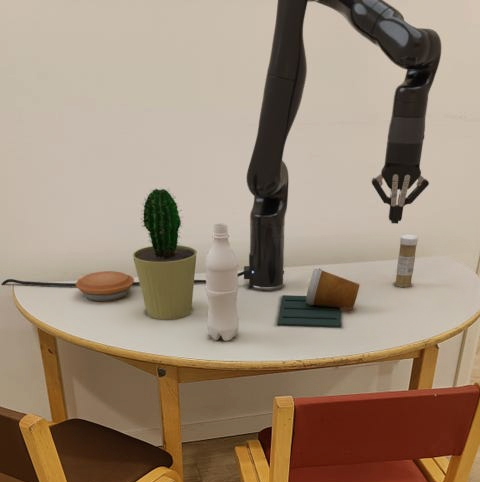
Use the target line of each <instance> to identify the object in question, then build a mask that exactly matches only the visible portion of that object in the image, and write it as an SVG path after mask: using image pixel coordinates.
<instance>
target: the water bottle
mask: <svg viewBox="0 0 480 482" xmlns="http://www.w3.org/2000/svg"><path fill="white" fill-rule="evenodd" d="M228 226H229V225H228V224H227V223H215V224H213V226H212V227H213V232H212V238H213V240H212V244H211V247H210V249H209V251H208V252H207V256H206V258H205V261H204V267H205V280H206V283H205V292H206V296H207V301H208V311H207V312H208V314H207V318H206V327H207V330H208V334H209V336H210V337H211V338H212V339H213V340H214V341H218V340H219V339H220V337H221V338H222V340H223V342H226V341H227V342H228V341H230V340H232V339H233V338H235V337H236V336H237V334H238V332H239V327H240V319H239V315H238V308H237V299H238V298H237V297H238V291H239V282H238V281H239V279H238V278H239V277H238V273H239V272H238V271H239V270H238V268H239V262H238V259H237V256H236V254H235V252H234V250H233V248H232V246H231V244H230V241H229V238H230V235H229V231H228V230H229V227H228Z"/></svg>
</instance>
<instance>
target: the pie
mask: <svg viewBox="0 0 480 482" xmlns="http://www.w3.org/2000/svg"><path fill="white" fill-rule="evenodd" d="M133 282H135V278H134V277H133V276H131V275H129V274H126V273H123V272H121V271H113V270H108V271H107V270H106V271H105V270H104V271H97V272H92V273H88V274H86V275H84V276H82V277H81V278H79V279H77V281H76V282H75V283H76V285H75V286H74V287H76V288H77V289H78V290H79V292H81V293H82V294H83V296H84V297H85V298H86V299H88V300H90V301H93V302H111V301H116V300H119V299H122V298H124V297H125V296H127V294H128V293H129V291H130V288H131V287H132V286H133V285H132V284H133Z"/></svg>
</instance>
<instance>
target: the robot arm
mask: <svg viewBox="0 0 480 482" xmlns="http://www.w3.org/2000/svg"><path fill="white" fill-rule="evenodd" d="M308 2H309V3H317V4H320V5H322V6H325V7H327V8H330V9H331V10H334V11H335V12H336V13H338V14H340V15H341V16H342V17H343V18H344V19H345V20H346V21H347V23H348V24H349V25H350V27H351V28H352V29H353V30H354V31H355V32H356V33H358V34H359V35H360V36H361V37H363V38H365V39H366V40H367V41H369V42H370V43H372V44H373V45H374V46H376V47H378V48H379V49H380V51H381V52H382V53H383V55H385V56H386V57H387V59H388V60H390V62H391V63H393V64H394V65H395V66H397V67H398V68H400V69H403V70H406V73H405V76H404V80H403V81H402V83H400V84H399V85H398V86H397V87H396V88H395V90H394V94H393V99H392V108H391V117H390V120H389V121H390V122H389V126H388V131H387V132H388V133H387V140H386V149H385V150H386V151H385V158H384V165H383V167H382V168H381V171H380V174H378V175H377V176H375V177H373V178H371V180H370V183H371V185H372V186H373V189H375V191H376V193H377V194H378V196H379V197H380V199H381V201H382V202H383V203H384V204H386V205H389V210H388V220H389V221H390V224H394V225H395V224H399V222H401V221H402V219H403V213H404V207H405V206H407V205H411V204H413V202H414V201H415V200H417V198H418V197H419V196H420V195H421V194H422V193H423V192H424V190H425V189H426V188H428V186H429V185H430V182H429V180H428V179H427V178H425V177H423V176H422V170H421V159H422V152H423V145H424V140H425V134H426V133H425V132H426V116H427V109H428V104H429V96H430V95H429V94H430V91H431V88H432V86H433V84H434V81H435V77H436V74H437V72H438V68H439V65H440V61H441V57H442V40H441V37H440V35H439V34H438V32H437V31H436V30H434V29H431V28H422V27H421V28H420V27H415V26H413V25H411V24H409V23H408V22H407V21H406V20H405V17H404V16H403V14H402V12H400V11H399V10H398V9H397V8H395V7H394V6H392V5H391V4H389V3H388V2H387V1H385V0H277V5H276V6H277V7H276V16H275V17H276V18H275V24H274V31H273V37H272V43H271V50H270V54H269V55H270V57H269V62H268V65H267V70H266V77H265V81H264V88H263V94H262V101H261V107H260V113H259V119H258V125H257V126H258V127H257V133H256V139H255V142H254V147H253V149H252V154H251V156H250V157H251V158H250V161H249V163H248V167H247V172H246V186H247V188H248V191H249V192H250V194H252V195H253V205H252V207H251V209H250V213H249V255H248V265H244V267H243V271H240V272H238V278H239V277H241V276H243V280H248V288H249V289H251V290H253V289H254V290H256V291H263V292H266V291H267V292H268V291H270V292H271V291H277V290H280V289H282V288H283V287H284V275H285V270H284V261H285V260H284V259H285V227H286V226H285V224H286V222H285V221H286V214H287V210H288V203H289V201H288V200H289V198H288V197H289V170H288V166H287V165H286V163H285V162H284V160H283V158H284V151H285V145H286V142H287V139H288V136H289V133H290V131H291V129H292V127H293V124H294V122H295V120H296V117H297V116H298V112H299V110H300V107H301V103H302V99H303V96H304V95H303V94H304V90H305V84H306V81H307V75H308V74H307V73H308V65H307V64H308V63H307V55H306V48H305V42H304V41H305V40H304V24H305V23H304V22H305V17H306V11H307V7H308ZM383 180H384V181H383ZM384 182H385V184H386V186H387V188H388V189H390V190H389V191H390V192H389V193H390V195H389V196H388V195H387V194H386V192H385V190H384V189H383V187H382V186H383V185H384V184H383V183H384ZM415 183H416V187H415V188H414V189H412V191H411V192H410V193H409V194H408V195H407V193H408V190H409V189H411V188H412V186H413V185H414V184H415ZM398 190H399V192H398ZM8 283H15V284H20V285H29V286H30V285H31V286H49V287H51V286H52V287H53V286H54V287H76V286H75V285H76V282H74V283H73V282H71V283H70V282H43V281H27V280H24V281H23V280H18V279H13V278H7V279H5V280H3V282H2V283H1V284H0V285H1V286H5V285H6V284H8ZM194 284H206V279H194ZM131 286H140V283H139V281H134V282H133V284H132V285H131Z"/></svg>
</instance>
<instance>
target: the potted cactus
mask: <svg viewBox="0 0 480 482" xmlns="http://www.w3.org/2000/svg"><path fill="white" fill-rule="evenodd" d="M172 195H173V192H171V190H170V188H167V189H164V188H159V189H158V188H154V189H150V191H149V193H148V194H146V197H147V198H146V197H143V199H144V200H142V201H143V202H141V205H143V209H141V211H143V213H141V216H142V215H143V217H141V219H140V221H142V222H140V224H142V225H141V228H145V230H146V231H147V235H148V238H150V239H149V240H148V241H149V243H150V245H149V246H146V247H141V248H139V249H137V250H135V251H133V253H132V257H133V262H134V266H135V267H134V268H135V270H136V271H135V272H136V275H137V279H138V282H139V283H140V285H139V286H140V291H141V294H142V295H141V296H142V298H143V303H144V306H145V311H146V314H147V316H149V317H151V318H154V319H156V320H157V319H158V320H176V319H180V318H184V317H187V316H188V315H189V314H191V312H192V309H193V308H192V307H193V297H194V285H195V283H194V280H195V274H196V265H197V264H196V263H197V254H198V251H197V249H195V248H193V247H192V246H187V245H183V244H181V243H180V242H179V241H178V240H179V239H180V238H181V236H180V235H179V230H180V227H181V228H183V223H182V219H183V217H181V216H180V213H179V212H181V211H182V209H180V210H179V209H178V207H179V205H178V203H177V202H176V201H175V197H174V196H172ZM148 241H147V242H148Z"/></svg>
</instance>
